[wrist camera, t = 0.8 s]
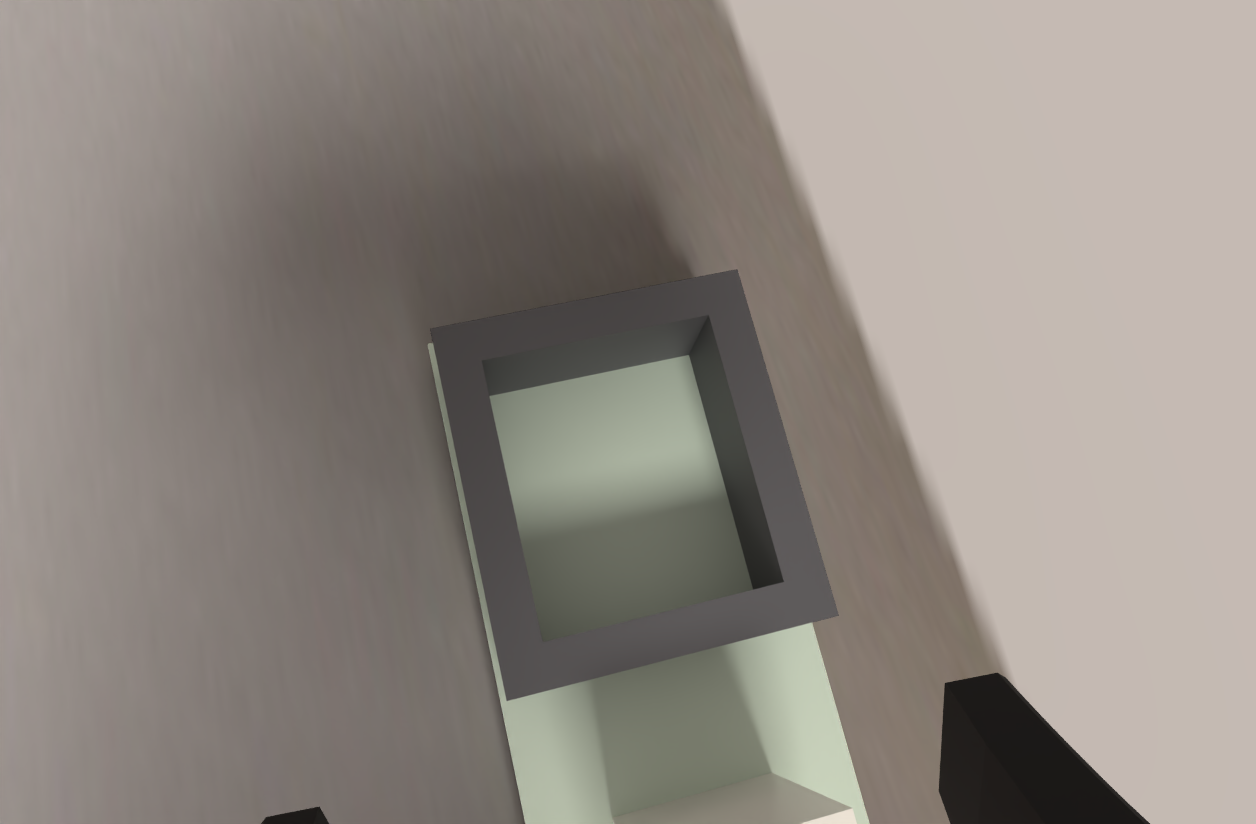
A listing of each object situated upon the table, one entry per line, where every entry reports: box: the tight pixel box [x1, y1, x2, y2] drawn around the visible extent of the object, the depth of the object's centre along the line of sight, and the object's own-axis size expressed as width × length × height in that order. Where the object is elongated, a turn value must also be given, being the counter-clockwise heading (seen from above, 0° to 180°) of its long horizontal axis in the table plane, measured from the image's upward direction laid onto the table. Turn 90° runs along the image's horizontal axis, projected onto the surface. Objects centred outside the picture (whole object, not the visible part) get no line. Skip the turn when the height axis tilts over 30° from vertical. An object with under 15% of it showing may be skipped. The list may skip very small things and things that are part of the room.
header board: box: [427, 269, 869, 824], centre depth 22 cm, size 20×8×4 cm, turn 14°
